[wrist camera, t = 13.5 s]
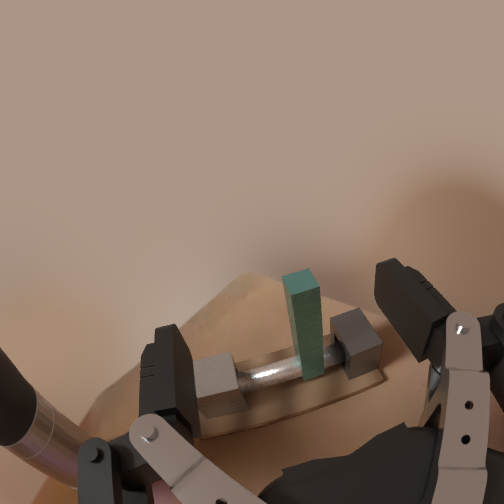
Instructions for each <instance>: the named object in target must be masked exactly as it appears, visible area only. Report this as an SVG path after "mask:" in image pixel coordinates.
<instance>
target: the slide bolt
mask: <svg viewBox="0 0 504 504" xmlns="http://www.w3.org/2000/svg"><path fill="white" fill-rule="evenodd" d="M282 280H283V286H284V292H285V298H286V303H287V309H288V315H289V321H290V327H291V333H292V339H293V345H294V351H295V356H293V357H290V358H287V359H283V360H280V361H277V362H274V363H270V364H267V365H263V366H260V367H256V368H253V369H249V370H246V371H242V372H238V373H236V375H237V380H238V384H239V387H240V389H241V391H242V393H243V394H244V393H248V392H251V391H255V390H259V389H262V388H266V387H269V386H273V385H276V384H279V383H283V382H286V381H289V380H292V379H295V378H299V377H302V378H303V381H304V380H307V379H310V378H313V377H316V376H319V375H322V374H324V369H325V368H328V367H331V366H333V365H336V364H339V363H341V362H344V361H346V353H345V351H344V349H343V348H342V346H341V344H340V342H339V341H337V342H334V343H332V344H329V345H326V346H323V329H322V312H321V297H320V286H319V284H318V283H317V281H316V280H315V278H314V276H313V275H312V273H311V272H310V270H309V269H305V270H302V271H298V272H295V273H291V274H288V275H285V276H282Z"/></svg>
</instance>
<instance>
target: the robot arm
mask: <svg viewBox="0 0 504 504" xmlns="http://www.w3.org/2000/svg"><path fill="white" fill-rule="evenodd" d="M374 296H375V300H376V303H377V305H378V306H379V308H380V309H381V310H382V312H383V313H384V315H385V316H386V317H387V319H388V320H389V321H390V323H391V324H392V325H393V327H394V328H395V330H396V331H397V332H398V334H399V335H400V337H401V338H402V339H403V341H404V342H405V344H406V345H407V347H408V348H409V349H410V351H411V352H412V354H413V355H414V357H415V358H416V360H417V361H418V363H420V362H422V361H424V360H426V359H427V358H428V359H429V361H430V362H431V363H430V366H429V375H428V384H427V392H426V399H425V406H424V410H423V413H422V415H421V418H420V422H419V426H418V427H410V428H407V427H406V425H405V423H404V422H403V423H401V424H399V425H397V426H395V427H393V428H391V429H389V430H387V431H385V432H383V433H381V434H378V435H376V436H375V437H374V438H372V439H371V440H370V441H368V442H367V443H366V444H364V445H363V446H362V447H360V448H359V449H357V450H356V451H355V452H353V453H352V454H350V455H347V456H341V457H333V458H325V459H315V460H311V461H308V462H305V463H302V464H298V465H295V466H292V467H288V468H285V469H282V471H283V475H282V476H281V477H279V478H277V479H276V480H274V481H273V482H271V483H270V484H269V485H268V486H266V487H265V488H264V489H263V490H262V492H261V493H260V494H259V495H258V497H257V496H255V495H254V494H252V493H251V492H249V491H248V490H247V489H245V488H244V487H243V486H241V485H240V484H239V483H237V482H236V481H235V480H233V479H232V478H231V477H229V476H228V475H227V474H225V473H224V472H223V471H222V470H220V469H219V468H218V467H217V466H216V465H214V464H213V463H212V462H211V461H209V460H208V459H207V458H206V457H205V456H203V455H202V454H201V453H200V452H199V451H198V450H196V449H195V448H194V442H193V437H198V436H202V435H201V428H200V420H199V412H198V404H197V395H196V386H195V377H194V367H193V360H192V356H191V353H190V350H189V348H188V346H187V344H186V343H185V341H184V339H183V337H182V335H181V333H180V331H179V330H178V328H177V326H176V325H175V324H171V325H167V326H163V327H159V328H156V329H155V342H154V343H151V344H147V345H146V347H145V349H144V351H143V353H142V355H141V367H140V368H141V370H140V378H141V380H140V391H139V417H138V419H136V420H135V421H134V422H133V424H132V425H131V427H130V431H129V432H128V433H126V434H125V435H123V436H120V437H118V438H116V439H114V440H111V441H109V442H106V441H104V440H103V439H100V438H93V437H91V436H90V435H89V434H87V433H86V432H85V431H84V430H82V429H81V428H80V427H78V426H77V425H76V424H75V423H73V422H72V421H71V420H70V419H68V418H67V417H66V416H65V415H63V414H62V413H61V412H60V411H59V410H58V409H57V408H55V407H54V406H53V405H52V404H51V403H50V402H49V401H47V400H46V399H45V398H44V397H43V396H42V395H41V394H40V393H39V392H38V391H37V390H36V389H34V387H32V386H31V385H30V384H29V383H28V382H27V381H26V380H25V378H24V377H23V376H22V375H21V373H20V372H19V371H18V370H17V368H16V367H15V366H14V364H13V363H12V362H11V360H10V359H9V358H8V357H7V355H6V354H5V353H4V352H3V351H2V349H1V348H0V446H1V447H2V448H4V449H5V450H6V451H8V452H9V453H11V454H12V455H14V456H15V457H17V458H19V459H20V460H22V461H23V462H25V463H27V464H29V465H30V466H32V467H33V468H35V469H37V470H38V471H40V472H42V473H44V474H45V475H47V476H49V477H51V478H53V479H55V480H57V481H59V482H60V483H62V484H64V485H66V486H68V487H70V488H72V489H74V490H77V491H78V504H154V499H153V492H152V486H151V483H153V482H155V481H158V480H160V479H163V480H164V481H165V482H166V483H167V484H168V485H169V486H170V490H171V492H172V493H173V494H174V495H175V496H176V497H177V498H178V499H179V500H180V501H181V502H182V503H183V504H504V453H503V452H499V451H496V450H493V449H490V448H487V443H488V431H489V414H490V390H491V392H492V393H493V395H494V397H495V398H496V400H497V402H498V403H499V405H500V407H501V408H502V410H503V412H504V303H502V304H499V305H498V306H497V307H496V308H495V311H494V313H493V315H490V316H485V317H480V318H475V316H473V315H472V314H470V313H468V312H465V311H456V310H455V309H454V308H453V307H452V306H451V305H450V304H449V302H448V301H447V300H446V299H445V298H444V297H443V296H442V295H441V294H440V293H439V292H438V291H437V290H436V289H435V288H433V285H432V284H431V283H430V282H429V281H427V279H426V278H425V277H424V276H423V275H422V274H421V273H420V272H419V271H417V270H415V269H413V268H411V267H409V266H407V267H404V266H403V265H402V264H401V263H400V262H399V261H398V260H397V259H396V258H392V259H389V260H386V261H383V262H380V263H378V264H377V265H376V273H375V287H374Z"/></svg>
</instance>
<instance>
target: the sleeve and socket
mask: <svg viewBox="0 0 504 504" xmlns="http://www.w3.org/2000/svg"><path fill="white" fill-rule="evenodd" d="M330 337H331V344H332V343H334V342H337V341H339V342H340V344H341V346H342V348H343V349H344V351H345V353H346V361H344V362H341V363H340V364H341V366H342V368H343V370H344V372H345V374H346V376H347V378H348V380H351V379H354V378H356V377H359V376H361V375H364V374H366V373H369V372H371V371H373V370H376V369H378V365H379V360H380V355H381V350H382V345H383V342H382V341H381V339H380V338H379V336H378V335H377V333H376V332H375V330H374V329H373V327H372V326H371V324H370V323H369V321H368V320H367V318H366V317H365V315H364V314H363V312H362V311H361V309H360V308H357V309H354V310H351V311H348V312H346V313H343V314H340V315H337V316H334V317H331V318H330ZM193 367H194V377H195V386H196V395H197V404H198V410H199V411H200V412H201V413H202V415H203V416H204V417H205V419H210V418H215V417H220V416H224V415H229V414H233V413H237V412H241V411H245V410H249V408H248V404H247V402H246V400H245V398H244V396H243V393H242V391H241V389H240V387H239V384H238V380H237V375H236V373H238V372H239V370H238V368H237V366H236V363H235V361H234V359H233V356H232V354H231V351H230V352H227V353H223V354H219V355H215V356H211V357H207V358H203V359H199V360H195V361H193Z"/></svg>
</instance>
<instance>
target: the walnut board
mask: <svg viewBox="0 0 504 504" xmlns="http://www.w3.org/2000/svg"><path fill="white" fill-rule="evenodd" d="M329 344H331V337H330V334H329V335H326V336H323V346H326V345H329ZM293 356H295V351H294V346H293V347H289V348H286V349H283V350H280V351H277V352H273V353H270V354H266V355H263V356H260V357H256V358H253V359H249V360H245V361H242V362H238V363H236V366H237V368H238V370H239V372H242V371H246V370H249V369H253V368H256V367H260V366H263V365H267V364H270V363H274V362H277V361H280V360H283V359H287V358H290V357H293ZM383 381H384V378H383V377H382V375H381V373H380V372H379V370H378V369H376V370H373V371H371V372H369V373H366V374H364V375H361V376H359V377H356V378H354V379H351V380H348V378H347V376H346V374H345V372H344V370H343V368H342V366H341V364H340V363H339V364H336V365H333V366H331V367H328V368H325V369H324V374H322V375H319V376H316V377H313V378H310V379H307V380H304V381H303V378H302V377H299V378H295V379H292V380H289V381H286V382H283V383H279V384H276V385H273V386H269V387H266V388H262V389H259V390H255V391H251V392H248V393H244V394H243V396H244V398H245V400H246V402H247V404H248V408H249V410H245V411H241V412H237V413H233V414H229V415H224V416H220V417H215V418H210V419H205V417H204V416H203V415H202V413H201V412H200V411H199V410H198V412H199V420H200V428H201V435H202V436H198V438H199V439H205V438H211V437H216V436H220V435H225V434H230V433H234V432H239V431H243V430H247V429H251V428H255V427H259V426H263V425H266V424H270V423H274V422H277V421H281V420H284V419H287V418H291V417H294V416H297V415H300V414H303V413H306V412H309V411H312V410H315V409H318V408H321V407H324V406H327V405H329V404H332V403H335V402H337V401H340V400H343V399H345V398H348V397H350V396H353V395H355V394H358V393H360V392H363V391H365V390H367V389H370V388H372V387H374V386H377V385H379V384H381V383H383Z"/></svg>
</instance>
